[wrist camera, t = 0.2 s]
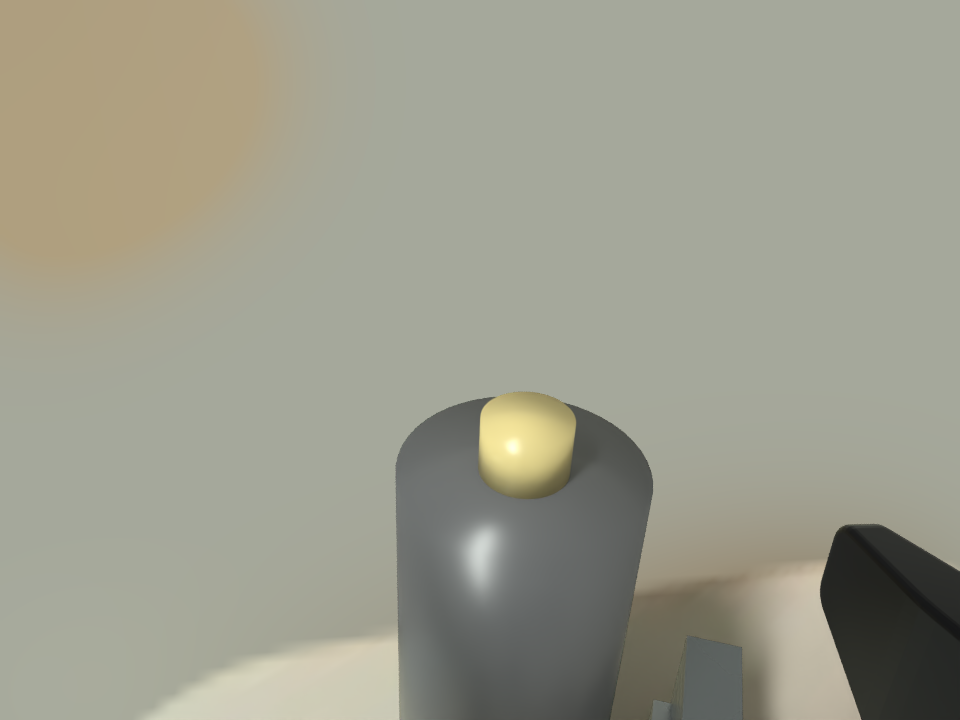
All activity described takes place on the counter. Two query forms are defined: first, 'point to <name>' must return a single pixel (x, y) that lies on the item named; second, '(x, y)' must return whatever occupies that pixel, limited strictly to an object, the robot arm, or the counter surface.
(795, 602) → the counter surface
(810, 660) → the counter surface
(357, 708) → the counter surface
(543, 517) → the plug
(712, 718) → the housing
